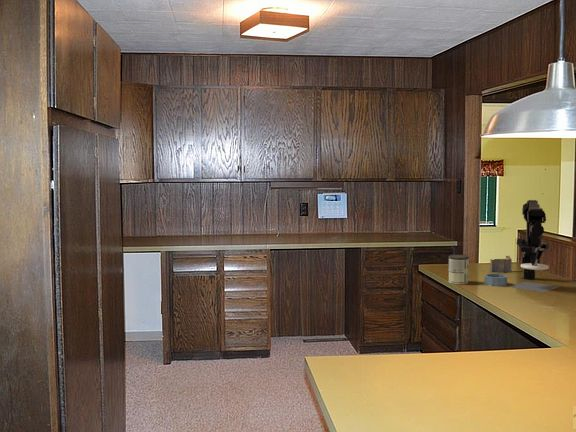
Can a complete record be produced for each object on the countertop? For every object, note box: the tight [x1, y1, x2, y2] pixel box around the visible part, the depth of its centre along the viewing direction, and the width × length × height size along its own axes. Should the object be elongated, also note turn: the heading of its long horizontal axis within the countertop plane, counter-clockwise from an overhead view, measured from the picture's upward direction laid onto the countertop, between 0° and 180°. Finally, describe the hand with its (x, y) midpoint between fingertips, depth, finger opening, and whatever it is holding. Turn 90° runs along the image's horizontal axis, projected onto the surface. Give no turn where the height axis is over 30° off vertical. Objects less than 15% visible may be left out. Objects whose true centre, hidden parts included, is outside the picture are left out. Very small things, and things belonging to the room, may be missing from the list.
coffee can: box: [448, 254, 470, 285], centre depth 314 cm, size 10×10×14 cm
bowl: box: [483, 273, 508, 287], centre depth 307 cm, size 11×11×5 cm
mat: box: [508, 281, 560, 293], centre depth 299 cm, size 18×18×1 cm
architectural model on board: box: [489, 255, 513, 273], centre depth 342 cm, size 11×3×10 cm, turn 91°
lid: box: [520, 259, 550, 271], centre depth 297 cm, size 13×13×4 cm
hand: (534, 264), depth 298 cm, fingers closed on lid, 3 cm apart
